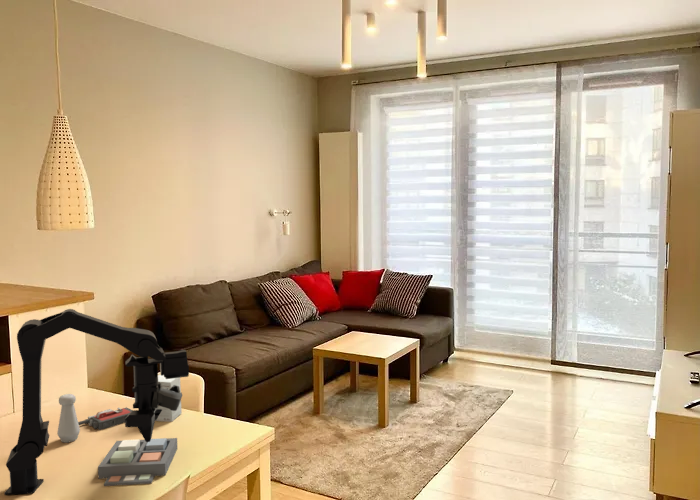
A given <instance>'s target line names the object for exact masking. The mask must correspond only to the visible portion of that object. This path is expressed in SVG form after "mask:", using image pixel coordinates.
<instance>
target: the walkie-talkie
mask: <svg viewBox="0 0 700 500" xmlns="http://www.w3.org/2000/svg"><path fill="white" fill-rule="evenodd" d="M132 410H133V409H131V408H128V407H127V406H126V407H122V408H120V407H117V409H116V410H113V409H111V408H109V409H105V410H101V411H98V412H97V413H96V414H93V415H90V416H89V415H88V416H87V419H84V420H80V421H78V424H79V426H82V425H85V424H86V425H88V426H89V427H90V426H91V427H93V429H97V430H98V431H100V430H101V431H103V430H105V429H108V428H109V429H110V428H112V427H115V426H118V425H121V424H125V418H126V417H127V416H128V415H129V413H130V412H131V411H132Z"/></svg>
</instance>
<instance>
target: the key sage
mask: <svg viewBox="0 0 700 500" xmlns="http://www.w3.org/2000/svg"><path fill="white" fill-rule="evenodd" d="M132 459H133V450H128V451H115V452H114V454H113V455H112V457H111V458H110V464H115V463H131V461H132Z"/></svg>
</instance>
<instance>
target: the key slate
mask: <svg viewBox="0 0 700 500" xmlns="http://www.w3.org/2000/svg"><path fill="white" fill-rule="evenodd" d="M166 446H167V438H166V437H164V438H151V441H150V442H148V443H147V445H146V451H148V450H165V448H166Z"/></svg>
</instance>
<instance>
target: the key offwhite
mask: <svg viewBox="0 0 700 500" xmlns="http://www.w3.org/2000/svg"><path fill="white" fill-rule="evenodd" d="M140 440H141V439H122V440H121V441H122V442H121V444H120V445H119V447H118V451H128V450H133V451H138V449H139V448H140Z"/></svg>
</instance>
